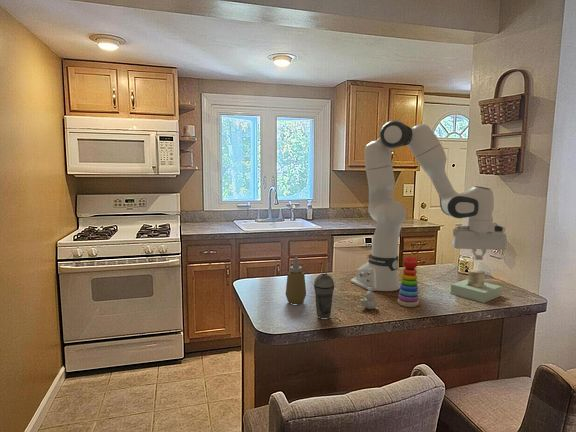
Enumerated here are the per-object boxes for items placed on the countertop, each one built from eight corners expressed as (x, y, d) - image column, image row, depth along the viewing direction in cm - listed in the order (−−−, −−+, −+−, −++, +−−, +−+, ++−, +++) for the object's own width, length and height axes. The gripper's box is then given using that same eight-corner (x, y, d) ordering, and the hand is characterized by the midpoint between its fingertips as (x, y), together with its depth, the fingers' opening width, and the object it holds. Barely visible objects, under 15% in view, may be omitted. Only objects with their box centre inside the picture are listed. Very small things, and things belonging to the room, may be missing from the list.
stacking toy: (420, 308, 147) (422, 259, 145) (398, 307, 149) (400, 258, 146) (417, 301, 155) (419, 255, 152) (396, 300, 156) (398, 254, 154)
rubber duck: (379, 310, 145) (380, 289, 144) (363, 312, 143) (363, 291, 142) (373, 305, 150) (374, 285, 149) (357, 306, 149) (357, 286, 148)
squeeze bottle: (291, 308, 147) (291, 261, 145) (281, 301, 154) (281, 256, 152) (310, 304, 151) (310, 258, 148) (299, 298, 158) (300, 254, 156)
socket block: (450, 293, 164) (451, 284, 164) (467, 287, 173) (468, 278, 172) (483, 302, 153) (484, 293, 153) (500, 295, 162) (501, 286, 161)
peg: (467, 294, 164) (468, 271, 162) (472, 292, 166) (474, 269, 165) (477, 297, 160) (479, 273, 159) (483, 295, 163) (484, 271, 161)
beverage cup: (314, 312, 143) (314, 258, 140) (334, 313, 142) (335, 259, 139) (312, 320, 135) (313, 264, 133) (333, 321, 134) (334, 264, 132)
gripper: (455, 227, 158) (453, 260, 159) (509, 227, 155) (507, 262, 157) (451, 224, 164) (449, 257, 166) (503, 225, 161) (501, 258, 163)
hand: (478, 259), depth 161 cm, fingers closed
